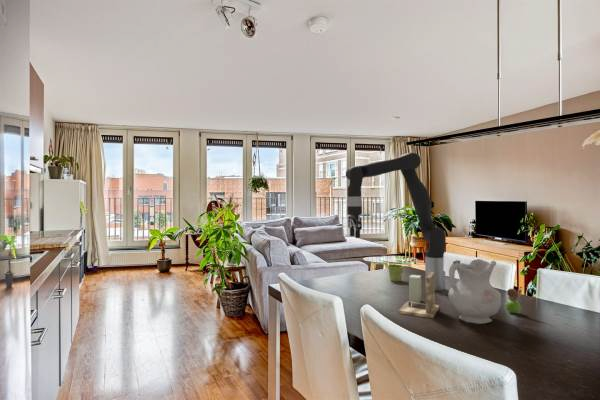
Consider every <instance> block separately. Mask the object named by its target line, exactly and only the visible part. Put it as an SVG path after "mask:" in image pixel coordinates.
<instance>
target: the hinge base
mask: <svg viewBox="0 0 600 400" xmlns="http://www.w3.org/2000/svg"><path fill="white" fill-rule="evenodd" d="M435 292H436V290H435V273H433V272H431V273H430V274H429V275H428V276H427V277H426V286H425V303H424V302H420V303H419V302H411V301H409V300H407V301H406V302H405V303H404V304H403V305H402V306H401V307H400V309H399V310H398V314H399V315H409V316H415V317H421V318H430V319H434V318H435V316H436V315H437V313H438V311H439V309H440V304H436V303H435V302H436V298H435V297H436V294H435Z"/></svg>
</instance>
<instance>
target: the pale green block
mask: <svg viewBox="0 0 600 400" xmlns="http://www.w3.org/2000/svg"><path fill="white" fill-rule="evenodd" d="M408 290H409V291H408V301H411V302H419V303H422V275H420V274H419V275H418V274H411V275H409V276H408Z"/></svg>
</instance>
